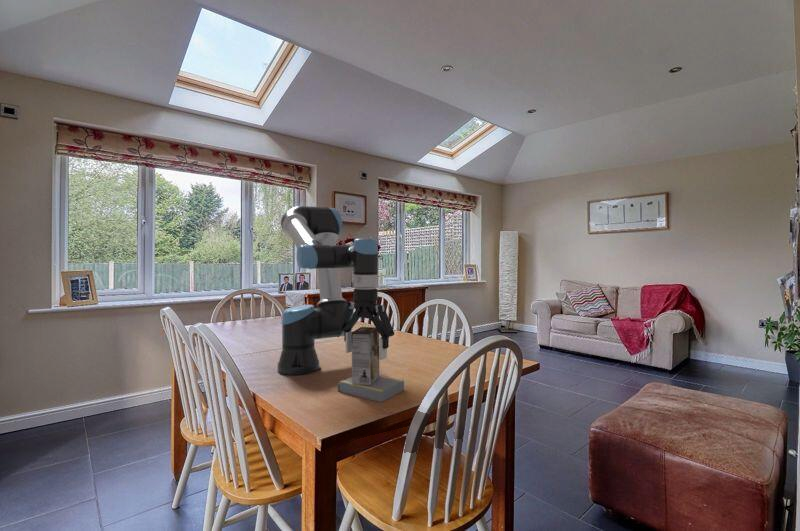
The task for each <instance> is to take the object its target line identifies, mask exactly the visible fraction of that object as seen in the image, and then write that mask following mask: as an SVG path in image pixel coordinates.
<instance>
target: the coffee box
mask: <svg viewBox="0 0 800 531" xmlns="http://www.w3.org/2000/svg"><path fill="white" fill-rule="evenodd" d="M379 338H380V333H379V332H378V330H377V329H376V327H375V326H374V327H370V326H360V327H359V328H357V329H355V330H353V332H352V352H351V377H352V384H361V385H372V384H373V382H374V381H375V380H376V379H377V378H378V377H379V376H380V375H381V374H380V359H379Z"/></svg>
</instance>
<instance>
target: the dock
mask: <svg viewBox="0 0 800 531" xmlns="http://www.w3.org/2000/svg"><path fill="white" fill-rule="evenodd" d="M337 391H338V392H341V393H345V394H348V395H352V396H356V397H358V398H363V399H367V400H371V401H375V402H379V403H383V402H385V401H386V400H389V399H390V398H393V397H394V396H396V395H398V394H399V393H401V392H403V391H405V381H404V380H403V379H399V378H394V377H389V376H387V375H386V376H385V375H381V374H380V376H379V377H378V378H377V379H376V380H375V381H374V382H373V384H372V385H361V384H352V376H351V377H349V378H345V379H344V380H341V381H339V382H337Z"/></svg>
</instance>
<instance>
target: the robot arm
mask: <svg viewBox="0 0 800 531" xmlns="http://www.w3.org/2000/svg"><path fill="white" fill-rule="evenodd" d="M280 225H281V229H282V231H283V233H284V234H285V235H286V236H287V237H290V238H291V241H292V243H293V244H294V246H295V247H296V262H297V266H298V267H299V268H300V269H305V270H307V269H309V270H315V269H317V280H318V287H319V289H318V290H319V299H320V300H319V301H318V302H317V304H316V308H315V306H314V304H300V305H294V306H291V307H288V308H286V309H285V310H283V312H282V314H281V315H282V317H281V336H282V337H281V339H282V340H281V341H282V343H281V344H282V345H281V349H282V350H281V352H280V356H279V359H278V362H277V372H278V373H280V374H283V375H291V376H292V375H294V376H296V375H305V374H309V373H311V374H312V373H313V372H316V371H318V370H319V369H320V359H319V358H318V353H317V351H316V348H315V340H321V339H328V338H329V339H330V338H340V337H344V338H343V340H344V342H345V354H349V353H352V332H353V331H354V330H353V328H354V326H355V325H356V324H357V322H358V321H359V320H360V319H363V318H364V319H369V321H371V322H372V324H373V325H374V327H376V329H377V330H378V332H379V336H380V337H379V361H383V360H384V359H387V358H388V353H387V352H388V348H389V346H390V345H389V338H390V337H393V336H395V331H394V328H393V326H392V324H391V323H392V322H391V321H390V318H389V316H388V314H387V308H386V307H387V306H386V305H385V304H380V305H379V304H378V303H377V302H378V298H379V297H378V288H377V287H378V286H379V280H378V278H379V277H378V272H379V271H378V270H379V269H378V268H379V267H378V266H379V265H378V264H379V263H378V262H379V261H378V260H379V259H378V258H379V257H378V255H379V249H378V248H379V247H378V240H377V239H376V238H355V239H354V240H353V244H345V245H343V244H341V245H339V244H337V243H336V241H337V240H338V239H339V237H340V235H341V234H342V232H343V219H342V215H341V213H340V212H339V210H337V209H336V208H335V207H328V206H324V207H323V206H309V205H307V206H306V205H296V206H293V207H292V208H289V209H288V210H286V211H285V213H284V214H283V215H282V217H281V220H280ZM340 269H353V287H354V289H353V300H352V301H348V302H347V299H345V298H343V294H342V293H343V292H342V284H341V276H340ZM354 310H355V311H354ZM352 330H353V331H352Z"/></svg>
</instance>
